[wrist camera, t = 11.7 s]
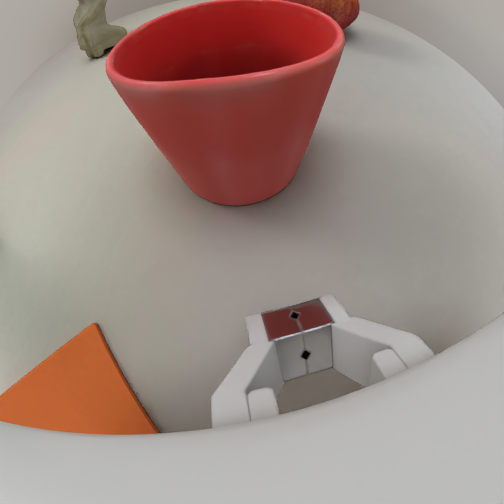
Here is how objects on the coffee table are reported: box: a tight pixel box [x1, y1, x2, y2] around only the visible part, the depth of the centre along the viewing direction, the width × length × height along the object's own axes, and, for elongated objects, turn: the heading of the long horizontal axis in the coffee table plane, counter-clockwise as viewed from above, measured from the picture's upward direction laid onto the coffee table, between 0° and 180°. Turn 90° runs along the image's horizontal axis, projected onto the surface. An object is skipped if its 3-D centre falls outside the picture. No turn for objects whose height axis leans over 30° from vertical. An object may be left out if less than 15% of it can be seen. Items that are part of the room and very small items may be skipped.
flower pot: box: [106, 0, 345, 206], centre depth 13 cm, size 11×11×10 cm
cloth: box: [0, 323, 159, 435], centre depth 10 cm, size 13×18×1 cm
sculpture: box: [73, 0, 127, 57], centre depth 23 cm, size 6×7×15 cm
